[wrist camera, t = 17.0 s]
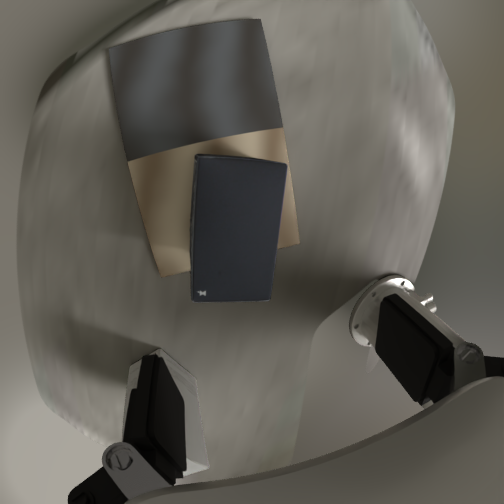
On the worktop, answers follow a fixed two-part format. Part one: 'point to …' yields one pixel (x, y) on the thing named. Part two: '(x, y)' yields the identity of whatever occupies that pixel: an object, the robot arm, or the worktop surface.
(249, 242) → the small box
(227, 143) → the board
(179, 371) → the skincare box
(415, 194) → the worktop surface
